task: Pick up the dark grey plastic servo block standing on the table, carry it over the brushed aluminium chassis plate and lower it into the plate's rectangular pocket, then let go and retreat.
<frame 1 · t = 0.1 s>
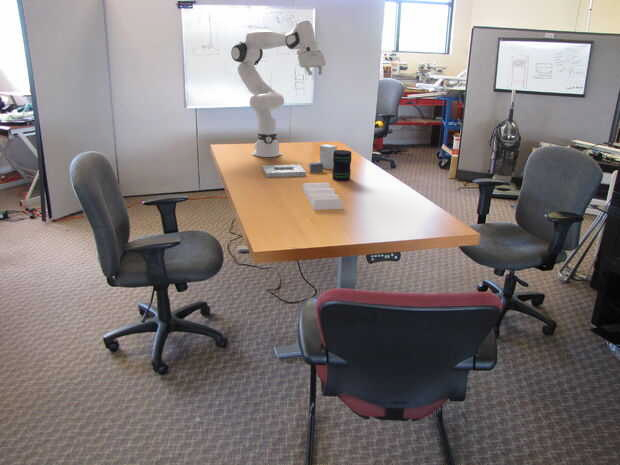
hand: (315, 74, 291), 52 cm above the table, tool tilted 20°, fingers open, 8 cm apart
dark ribbed barrel: (341, 179, 278), on the table
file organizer: (321, 199, 245), on the table
chassis: (283, 172, 288), on the table
small box: (327, 167, 303), on the table
servo: (316, 171, 293), on the table
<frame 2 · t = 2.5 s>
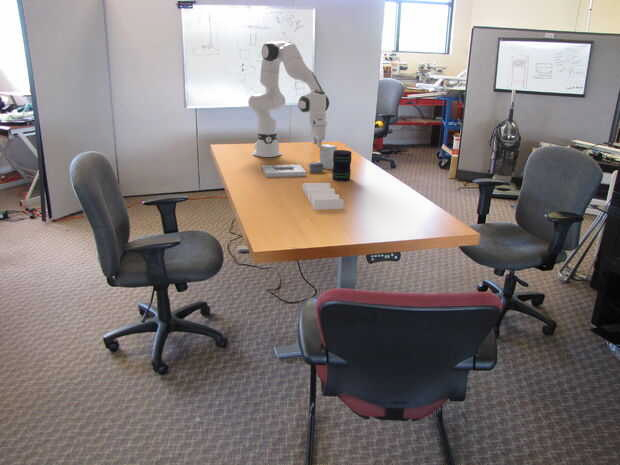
hand: (317, 145, 287), 15 cm above the table, tool pointing down, fingers open, 8 cm apart
nothing on the table moved.
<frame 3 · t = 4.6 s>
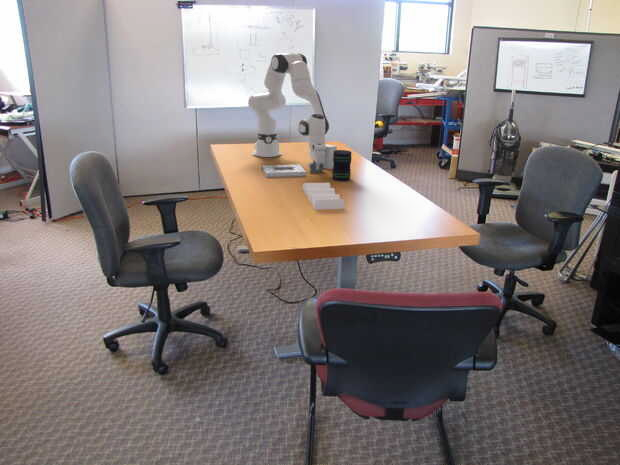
hand: (316, 168, 292), 2 cm above the table, tool pointing down, fingers closed on servo, 4 cm apart
servo: (316, 171, 293), on the table, touching gripper
everything else where it was.
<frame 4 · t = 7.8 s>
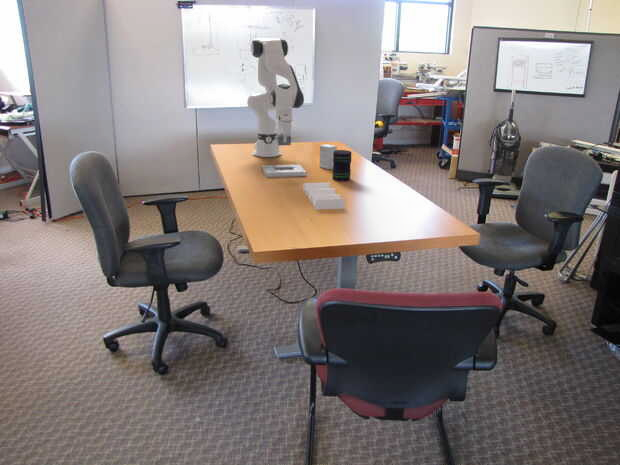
hand: (283, 141, 282), 18 cm above the table, tool pointing down, fingers closed on servo, 4 cm apart
servo: (283, 144, 282), point 16 cm above the table, touching gripper
everything else where it was.
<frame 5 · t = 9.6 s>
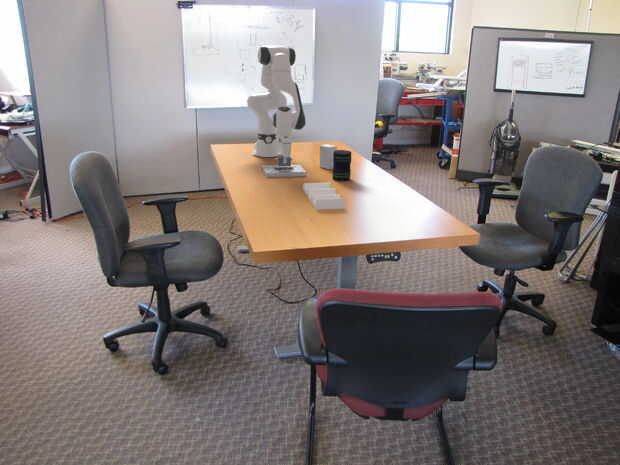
hand: (284, 162, 286), 6 cm above the table, tool pointing down, fingers closed on servo, 4 cm apart
servo: (284, 165, 286), point 4 cm above the table, touching gripper
everything else where it was.
when the fingers open (4 cm above the table, at t = 10.9 s): servo drops 1 cm, resting on chassis.
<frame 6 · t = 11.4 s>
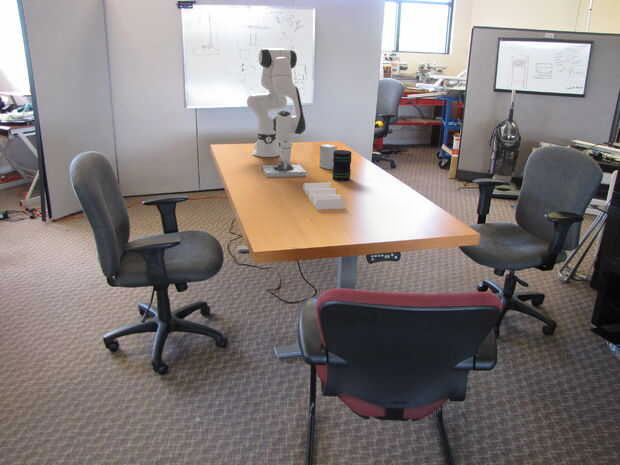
hand: (283, 166, 287), 4 cm above the table, tool pointing down, fingers open, 8 cm apart
servo: (283, 172, 288), resting on chassis
everything else where it was.
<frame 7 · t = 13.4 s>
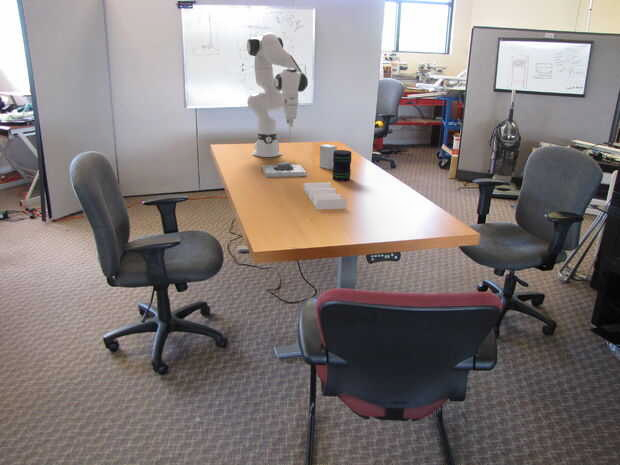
hand: (289, 125, 282), 26 cm above the table, tool pointing down, fingers open, 8 cm apart
nothing on the table moved.
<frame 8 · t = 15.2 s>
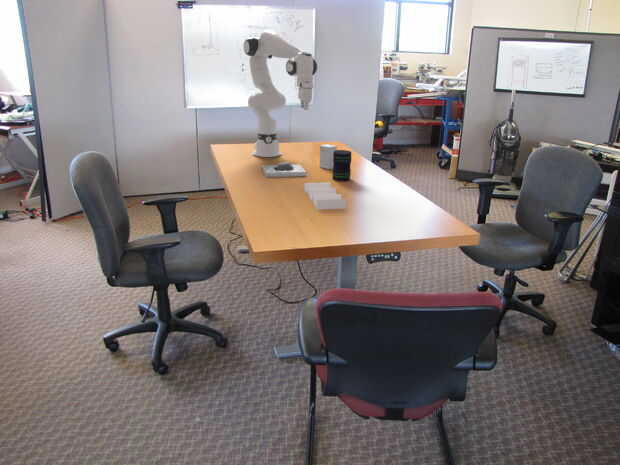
hand: (304, 109, 287), 34 cm above the table, tool pointing down, fingers open, 8 cm apart
nothing on the table moved.
at the end: servo inside the target area on the chassis (0.1 cm from its centre), point 0.3 cm above the chassis's base; servo tilted 0°; the gripper is holding nothing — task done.
